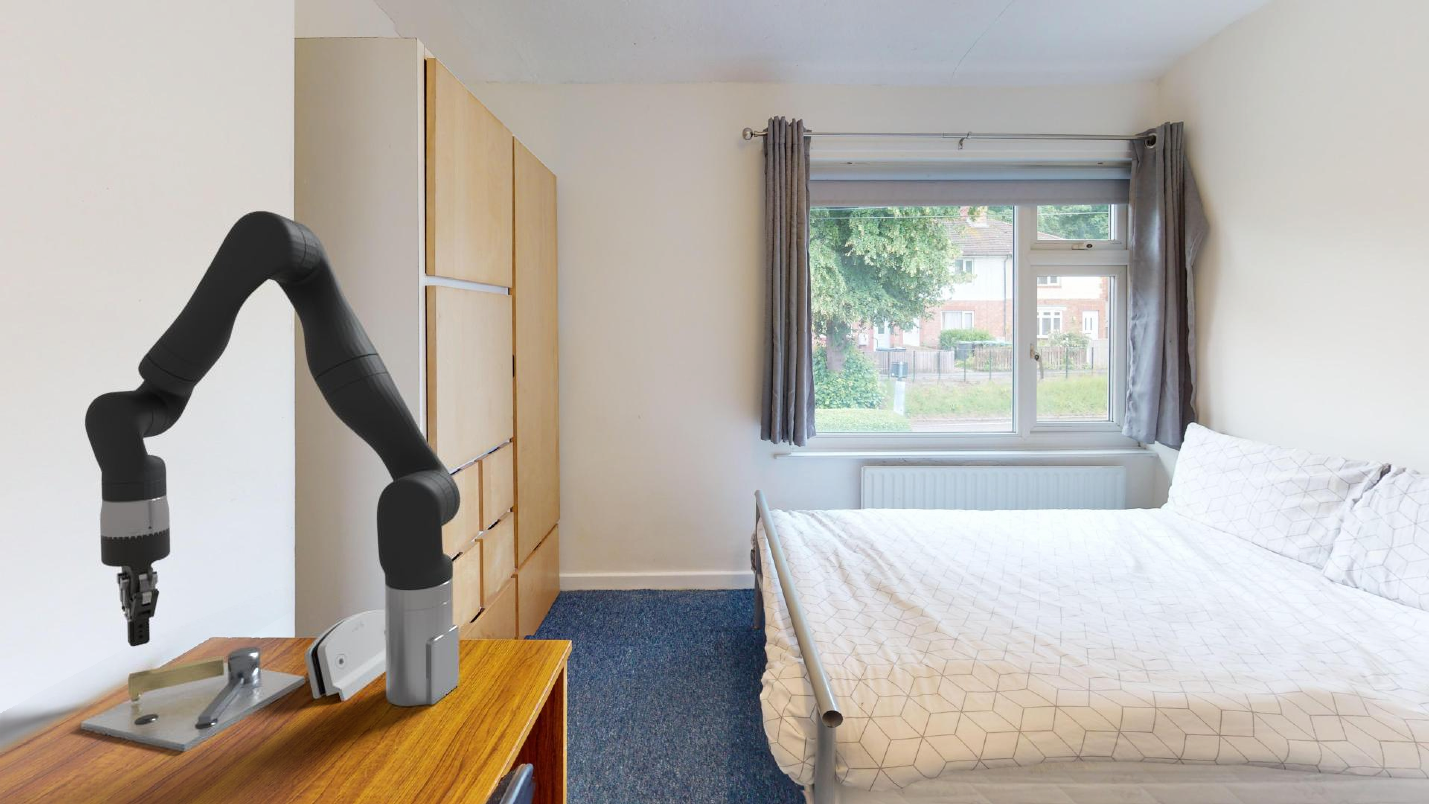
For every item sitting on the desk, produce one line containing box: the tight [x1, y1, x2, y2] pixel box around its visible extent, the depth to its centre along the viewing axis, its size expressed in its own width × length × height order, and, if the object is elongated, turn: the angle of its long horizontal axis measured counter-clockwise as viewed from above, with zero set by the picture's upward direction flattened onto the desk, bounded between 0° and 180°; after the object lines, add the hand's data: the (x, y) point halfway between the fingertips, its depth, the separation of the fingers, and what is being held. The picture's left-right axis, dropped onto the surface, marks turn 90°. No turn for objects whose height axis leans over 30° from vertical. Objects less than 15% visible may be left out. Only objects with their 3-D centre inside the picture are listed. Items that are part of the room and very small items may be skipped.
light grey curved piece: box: [304, 609, 386, 702], centre depth 103 cm, size 17×5×10 cm, turn 171°
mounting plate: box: [80, 646, 306, 753], centre depth 93 cm, size 18×18×5 cm
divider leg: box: [127, 654, 225, 702], centre depth 94 cm, size 10×2×4 cm, turn 126°
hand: (138, 643), depth 96 cm, fingers closed
